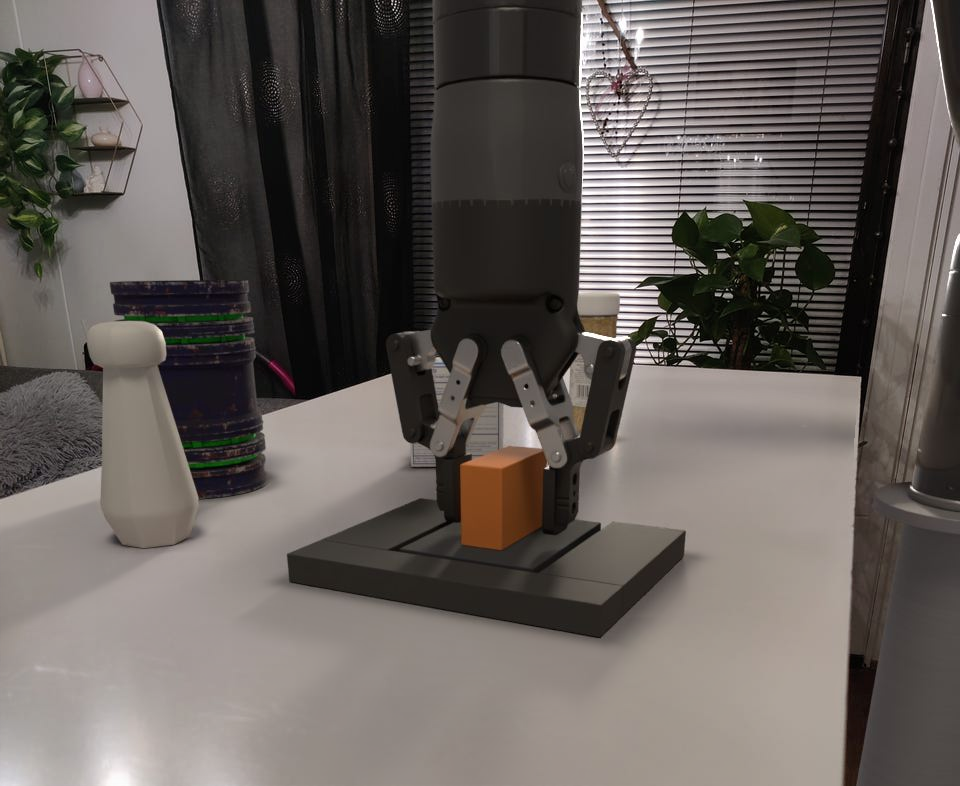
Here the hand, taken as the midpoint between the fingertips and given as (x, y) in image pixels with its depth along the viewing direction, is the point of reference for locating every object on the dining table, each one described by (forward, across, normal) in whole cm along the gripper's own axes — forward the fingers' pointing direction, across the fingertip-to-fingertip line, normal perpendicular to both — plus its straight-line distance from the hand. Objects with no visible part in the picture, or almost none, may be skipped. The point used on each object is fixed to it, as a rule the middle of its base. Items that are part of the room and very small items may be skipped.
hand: (505, 524), depth 52 cm
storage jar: (+2, +30, -8) cm, 31 cm away
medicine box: (+2, +16, -24) cm, 29 cm away
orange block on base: (+2, 0, 0) cm, 2 cm away
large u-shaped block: (+2, 0, +2) cm, 3 cm away
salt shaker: (+2, +22, +6) cm, 23 cm away
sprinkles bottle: (+2, +10, -40) cm, 41 cm away
